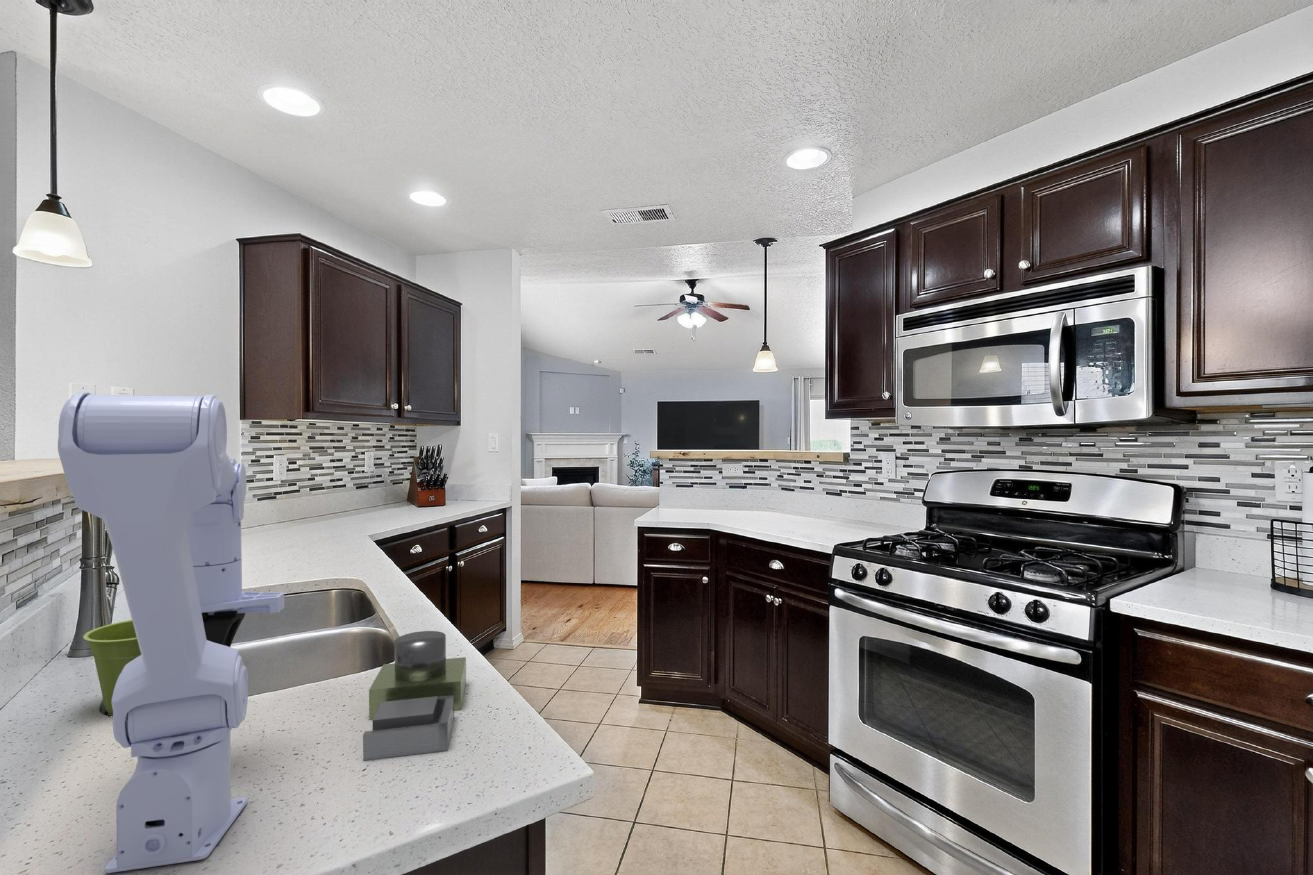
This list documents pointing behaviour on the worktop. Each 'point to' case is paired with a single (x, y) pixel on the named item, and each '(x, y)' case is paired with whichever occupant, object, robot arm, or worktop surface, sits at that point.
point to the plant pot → (112, 654)
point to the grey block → (406, 713)
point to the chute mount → (416, 695)
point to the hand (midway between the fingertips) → (214, 675)
